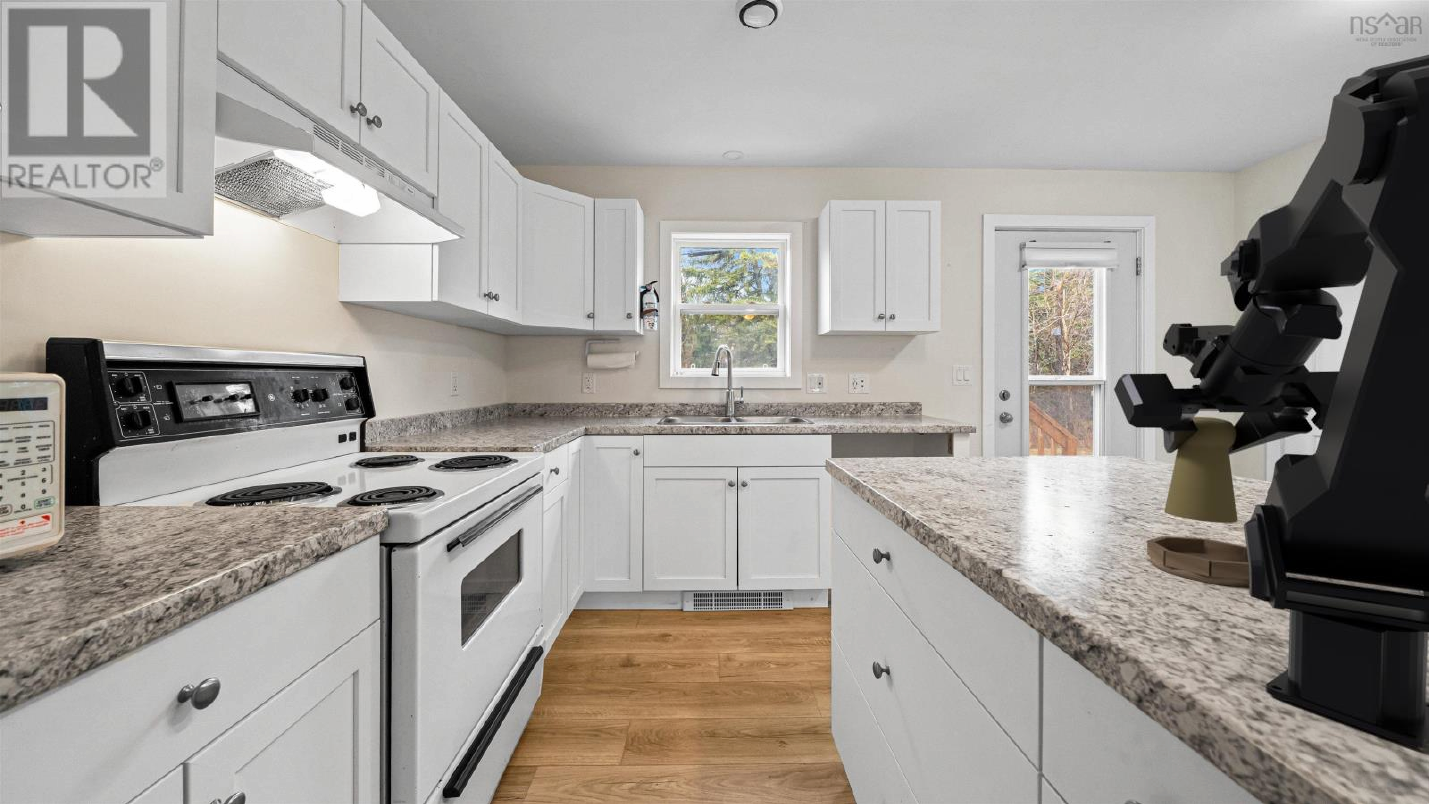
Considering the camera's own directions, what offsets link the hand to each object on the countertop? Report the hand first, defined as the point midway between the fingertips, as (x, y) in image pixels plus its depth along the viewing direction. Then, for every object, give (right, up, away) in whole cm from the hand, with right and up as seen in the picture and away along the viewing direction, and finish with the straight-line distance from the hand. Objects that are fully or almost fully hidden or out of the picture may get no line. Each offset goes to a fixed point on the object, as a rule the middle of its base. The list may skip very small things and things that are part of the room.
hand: (1195, 450), depth 60 cm
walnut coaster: (0, -13, -1) cm, 13 cm away
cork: (-1, -7, -1) cm, 7 cm away
